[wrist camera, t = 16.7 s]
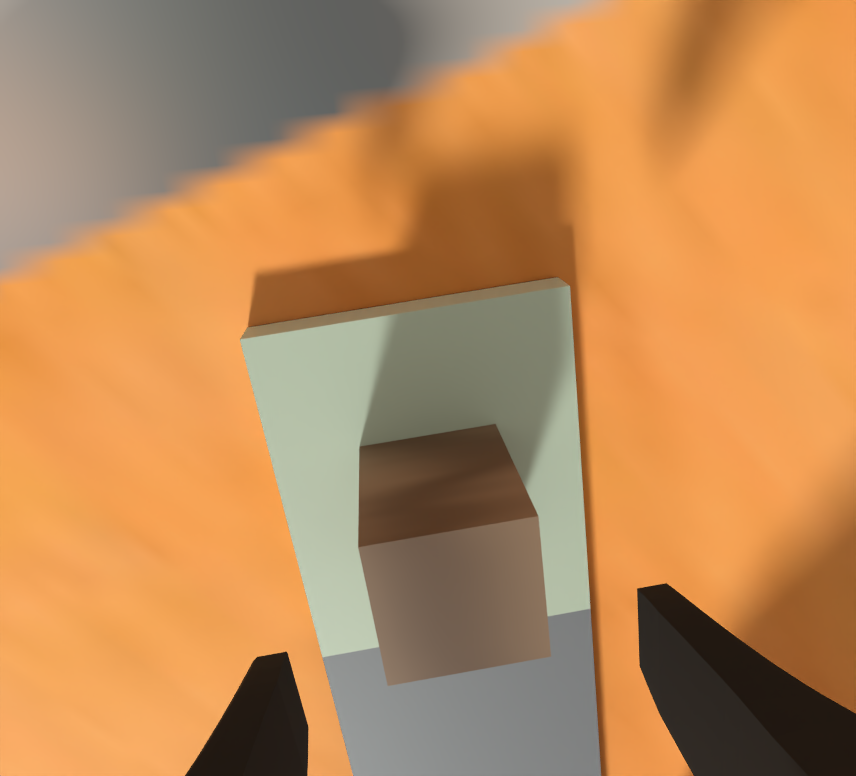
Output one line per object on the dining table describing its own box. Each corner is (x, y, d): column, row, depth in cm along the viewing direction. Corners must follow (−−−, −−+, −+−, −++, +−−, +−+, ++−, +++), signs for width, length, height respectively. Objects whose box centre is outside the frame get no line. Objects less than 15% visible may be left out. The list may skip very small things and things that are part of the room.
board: (557, 277, 19) (570, 285, 18) (594, 802, 27) (604, 831, 26) (247, 327, 18) (240, 339, 17) (378, 843, 27) (379, 874, 25)
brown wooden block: (495, 423, 19) (538, 516, 14) (508, 538, 20) (551, 656, 16) (359, 446, 19) (358, 547, 14) (382, 560, 20) (387, 686, 16)
